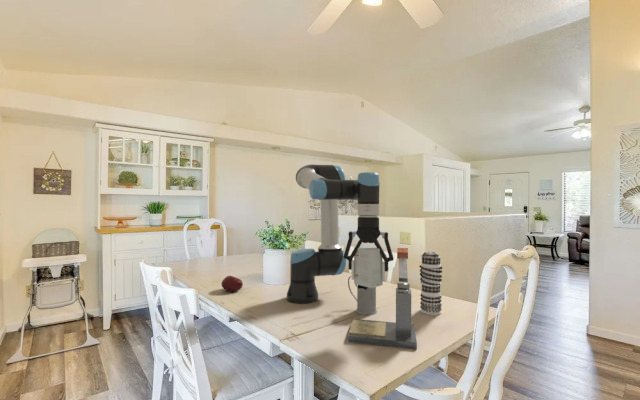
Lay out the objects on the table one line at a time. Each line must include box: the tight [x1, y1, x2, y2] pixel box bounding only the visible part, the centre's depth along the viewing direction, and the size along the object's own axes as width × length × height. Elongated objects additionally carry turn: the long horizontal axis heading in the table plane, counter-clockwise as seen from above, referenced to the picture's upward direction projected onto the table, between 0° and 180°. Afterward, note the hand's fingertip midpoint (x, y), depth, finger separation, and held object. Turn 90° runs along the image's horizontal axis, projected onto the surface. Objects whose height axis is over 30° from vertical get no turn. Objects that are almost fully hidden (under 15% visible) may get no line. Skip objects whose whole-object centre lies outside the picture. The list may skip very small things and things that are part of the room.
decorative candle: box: [418, 251, 443, 316], centre depth 137 cm, size 9×9×25 cm
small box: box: [353, 245, 384, 288], centre depth 114 cm, size 8×6×13 cm
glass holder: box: [347, 275, 378, 316], centre depth 139 cm, size 9×14×15 cm, turn 47°
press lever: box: [396, 247, 411, 290], centre depth 119 cm, size 4×22×3 cm, turn 167°
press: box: [347, 287, 418, 350], centre depth 112 cm, size 22×16×16 cm
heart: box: [221, 275, 244, 293], centre depth 168 cm, size 12×8×10 cm
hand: (368, 279), depth 114 cm, fingers closed on small box, 10 cm apart
